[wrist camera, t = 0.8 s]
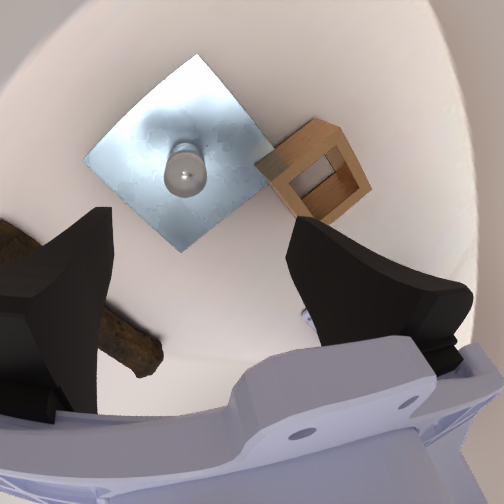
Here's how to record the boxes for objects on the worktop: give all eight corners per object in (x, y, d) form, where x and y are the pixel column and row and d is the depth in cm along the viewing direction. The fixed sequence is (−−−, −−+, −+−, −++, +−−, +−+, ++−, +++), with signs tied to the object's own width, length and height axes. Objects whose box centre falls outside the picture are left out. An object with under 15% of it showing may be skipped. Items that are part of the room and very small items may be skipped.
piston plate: (286, 165, 21) (306, 185, 18) (180, 249, 23) (181, 281, 20) (196, 54, 16) (198, 49, 13) (84, 158, 18) (64, 178, 15)
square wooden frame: (347, 173, 23) (372, 189, 20) (294, 216, 23) (313, 237, 21) (315, 118, 19) (340, 127, 17) (254, 165, 20) (270, 182, 18)
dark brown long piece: (166, 337, 28) (167, 375, 25) (138, 353, 29) (136, 390, 25) (17, 195, 18) (-11, 223, 14) (-5, 225, 19) (-31, 255, 15)
